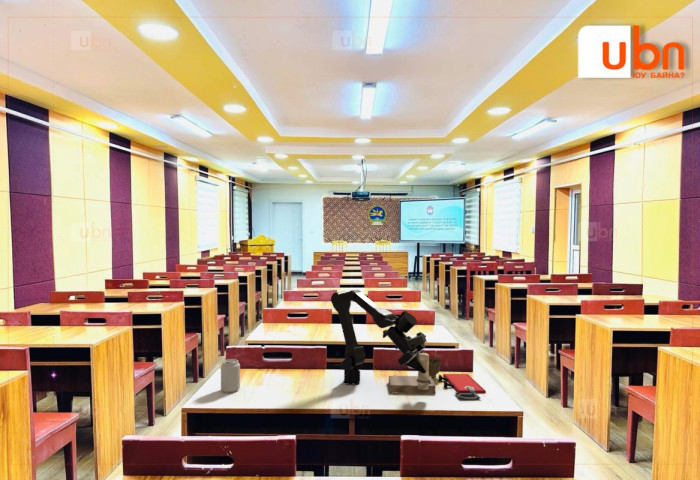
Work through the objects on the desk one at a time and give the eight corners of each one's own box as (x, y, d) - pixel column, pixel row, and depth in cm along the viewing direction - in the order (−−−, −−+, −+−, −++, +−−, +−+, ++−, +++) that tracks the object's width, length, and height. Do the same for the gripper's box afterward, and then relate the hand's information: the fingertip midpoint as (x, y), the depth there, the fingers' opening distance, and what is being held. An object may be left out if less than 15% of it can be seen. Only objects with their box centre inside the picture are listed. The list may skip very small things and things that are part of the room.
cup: (439, 375, 201) (440, 357, 201) (441, 380, 193) (441, 362, 193) (423, 374, 201) (423, 357, 201) (424, 379, 194) (424, 361, 194)
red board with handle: (454, 400, 170) (492, 400, 171) (454, 393, 170) (493, 393, 171) (435, 376, 200) (467, 377, 201) (435, 370, 200) (467, 371, 201)
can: (217, 390, 179) (217, 360, 179) (233, 385, 185) (233, 357, 184) (227, 394, 174) (227, 364, 174) (243, 390, 179) (243, 360, 179)
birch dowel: (418, 389, 168) (418, 355, 168) (417, 386, 173) (417, 352, 172) (429, 389, 168) (429, 355, 168) (427, 386, 172) (428, 353, 172)
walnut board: (390, 392, 178) (390, 385, 178) (388, 382, 190) (388, 375, 190) (435, 393, 177) (435, 385, 177) (430, 383, 189) (430, 376, 189)
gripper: (406, 331, 164) (435, 365, 159) (421, 322, 180) (447, 352, 175) (386, 349, 167) (413, 383, 162) (402, 339, 184) (428, 369, 179)
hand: (426, 371), depth 170 cm, fingers closed on birch dowel, 4 cm apart
